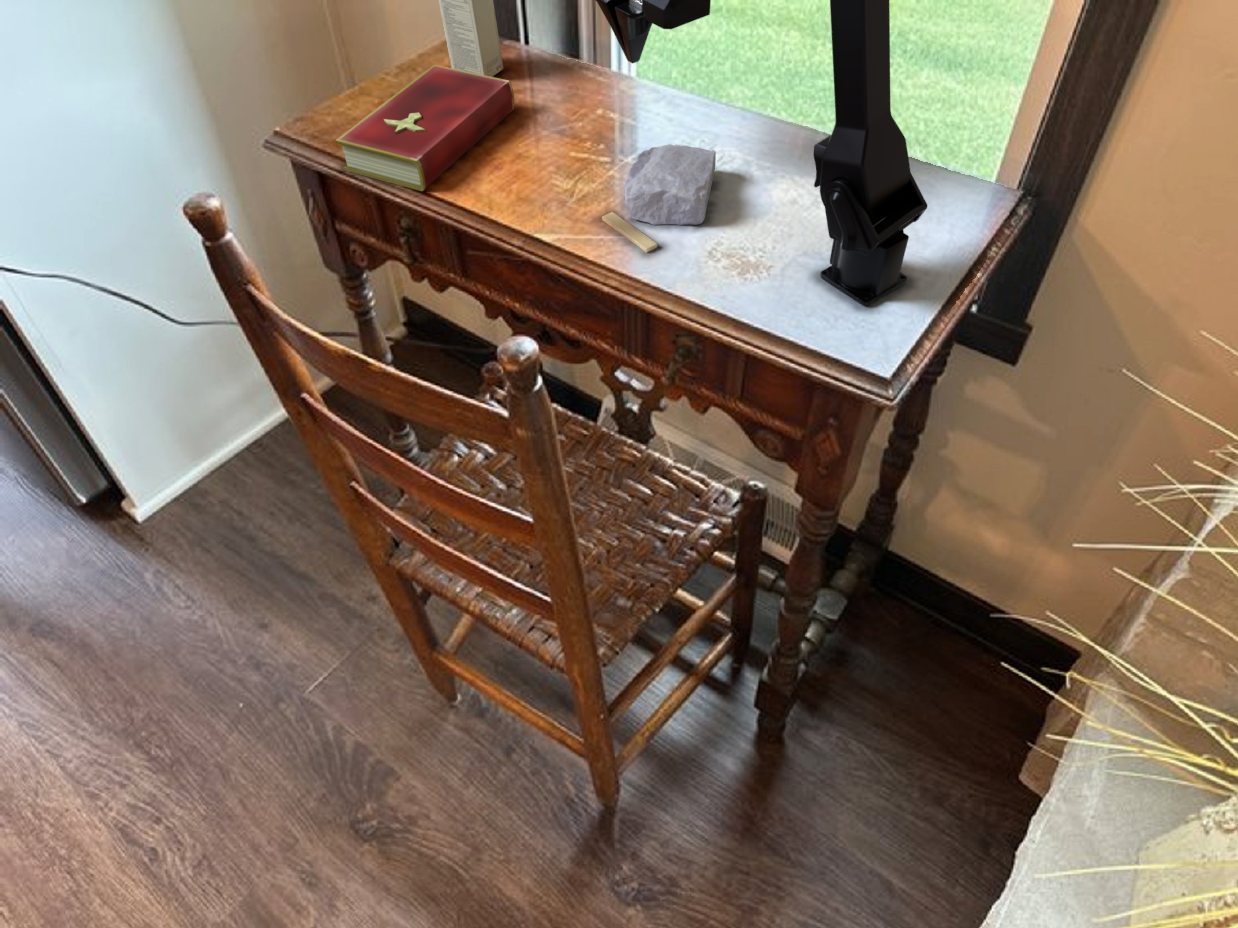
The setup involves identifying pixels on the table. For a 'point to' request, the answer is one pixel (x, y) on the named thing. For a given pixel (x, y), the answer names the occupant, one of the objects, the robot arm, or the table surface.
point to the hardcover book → (426, 126)
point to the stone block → (670, 185)
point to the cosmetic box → (472, 35)
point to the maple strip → (629, 232)
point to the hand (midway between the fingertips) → (633, 61)
